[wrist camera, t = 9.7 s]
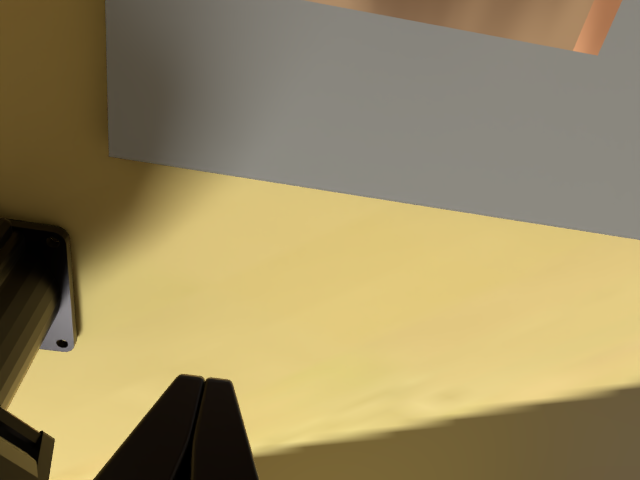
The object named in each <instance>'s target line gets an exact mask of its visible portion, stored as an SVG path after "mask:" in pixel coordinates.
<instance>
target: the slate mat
mask: <svg viewBox="0 0 640 480" xmlns="http://www.w3.org/2000/svg"><path fill="white" fill-rule="evenodd" d="M105 14H106V56H107V98H108V140H109V157H115V158H122V159H128V160H134V161H141V162H147V163H153V164H160V165H166V166H173V167H179V168H185V169H192V170H198V171H204V172H211V173H217V174H223V175H230V176H236V177H243V178H249V179H255V180H262V181H268V182H274V183H281V184H287V185H293V186H300V187H306V188H313V189H319V190H325V191H332V192H338V193H344V194H351V195H357V196H363V197H370V198H376V199H383V200H389V201H395V202H402V203H408V204H414V205H421V206H427V207H433V208H440V209H446V210H453V211H459V212H465V213H472V214H478V215H484V216H491V217H497V218H503V219H510V220H516V221H523V222H529V223H535V224H542V225H548V226H554V227H561V228H567V229H573V230H580V231H586V232H593V233H599V234H605V235H612V236H618V237H624V238H631V239H637V240H640V0H622V2H621V4H620V7H619V9H618V11H617V13H616V16H615V18H614V20H613V22H612V24H611V27H610V29H609V31H608V33H607V36H606V38H605V40H604V42H603V45H602V47H601V49H600V51H599V54H598V56H597V55H592V54H587V53H581V52H576V51H571V50H565V49H560V48H555V47H549V46H544V45H539V44H533V43H528V42H523V41H518V40H512V39H507V38H502V37H496V36H491V35H486V34H480V33H475V32H470V31H464V30H459V29H454V28H448V27H443V26H438V25H432V24H427V23H422V22H417V21H411V20H406V19H401V18H395V17H390V16H385V15H379V14H374V13H369V12H363V11H358V10H353V9H347V8H342V7H337V6H331V5H326V4H321V3H316V2H310V1H305V0H105Z"/></svg>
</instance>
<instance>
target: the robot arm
mask: <svg viewBox="0 0 640 480" xmlns="http://www.w3.org/2000/svg"><path fill="white" fill-rule="evenodd" d="M51 237H54V238H56V239H58V240H59V242H56V241H54V240H52V239H51ZM63 340H65V341H63ZM76 341H77V331H76V317H75V303H74V289H73V275H72V261H71V247H70V237H69V234H68V233H67V232H66V230H64V229H63V228H61V227H58V226H53V225H46V224H39V223H32V222H25V221H18V220H11V219H5V218H0V480H49V474H50V467H51V461H52V454H53V448H54V442H55V439H54V438H52V437H51V436H49V435H48V434H46V433H45V432H43V431H40V432H38V431H37V430H35V429H34V428H32V427H31V426H29V425H28V424H26V423H25V422H23V421H22V420H20V419H19V418H17V417H16V416H14V415H13V414H11V413H10V412H8V411H7V409H8V407H9V405H10V403H11V401H12V399H13V397H14V395H15V394H16V392H17V390H18V388H19V386H20V384H21V382H22V380H23V378H24V377H25V375H26V373H27V371H28V369H29V367H30V365H31V363H32V361H33V359H34V358H35V356H36V354H37V352H38V350H39V349H45V350H53V351H61V352H68V351H71V350H72V349H73V348H74V346H75V344H76ZM93 480H260V479H259V476H258V472H257V469H256V465H255V462H254V458H253V454H252V451H251V447H250V444H249V440H248V437H247V433H246V429H245V426H244V422H243V419H242V415H241V412H240V408H239V404H238V401H237V397H236V394H235V390H234V387H233V384H232V382H231V381H230V380H228V379H220V378H212V377H210V378H207V379H206V381H205V379H204V378H203V377H202V376H196V375H188V374H181V375H179V376H178V377H176V379H175V380H174V381H173V382H172V383H171V385H170V386H169V387H168V388H167V390H166V391H165V392H164V393H163V394H162V396H161V397H160V398H159V399H158V401H157V402H156V403H155V404H154V406H153V407H152V408H151V409H150V410H149V412H148V413H147V414H146V415H145V417H144V418H143V419H142V420H141V421H140V423H139V424H138V425H137V426H136V428H135V429H134V430H133V431H132V433H131V434H130V435H129V436H128V437H127V439H126V440H125V441H124V442H123V444H122V445H121V446H120V447H119V448H118V450H117V451H116V452H115V453H114V455H113V456H112V457H111V458H110V460H109V461H108V462H107V463H106V464H105V466H104V467H103V468H102V469H101V471H100V472H99V473H98V474H97V476H96V477H95V478H94V479H93Z"/></svg>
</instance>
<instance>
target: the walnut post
mask: <svg viewBox="0 0 640 480" xmlns="http://www.w3.org/2000/svg"><path fill="white" fill-rule="evenodd" d="M305 1H310V2H316V3H321V4H326V5H331V6H337V7H342V8H347V9H353V10H358V11H363V12H369V13H374V14H379V15H385V16H390V17H395V18H401V19H406V20H411V21H417V22H422V23H427V24H432V25H438V26H443V27H448V28H454V29H459V30H464V31H470V32H475V33H480V34H486V35H491V36H496V37H502V38H507V39H512V40H518V41H523V42H528V43H533V44H539V45H544V46H549V47H555V48H560V49H565V50H571V51H576V52H581V53H587V54H592V55H597V56H598V54H599V51H600V49H601V47H602V45H603V42H604V40H605V38H606V36H607V33H608V31H609V29H610V27H611V24H612V22H613V20H614V18H615V16H616V13H617V11H618V9H619V7H620V4H621V2H622V0H305Z"/></svg>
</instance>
